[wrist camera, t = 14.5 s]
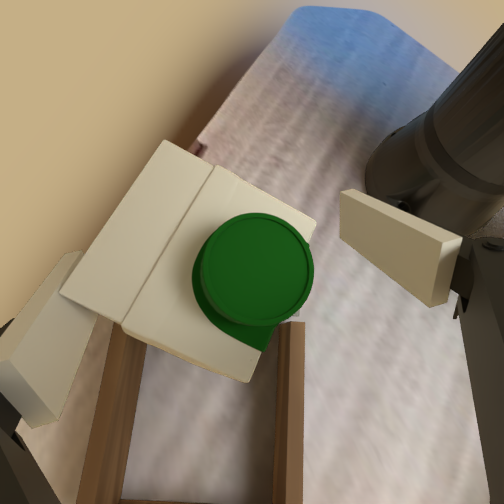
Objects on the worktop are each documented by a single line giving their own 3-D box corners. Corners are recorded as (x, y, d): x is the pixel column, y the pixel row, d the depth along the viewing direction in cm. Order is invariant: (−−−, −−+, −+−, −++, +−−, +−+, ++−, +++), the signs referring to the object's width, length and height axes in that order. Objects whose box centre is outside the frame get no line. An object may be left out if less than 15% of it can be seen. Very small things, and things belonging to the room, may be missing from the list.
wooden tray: (290, 325, 29) (305, 322, 23) (285, 524, 24) (301, 582, 18) (140, 314, 28) (117, 307, 23) (102, 516, 23) (61, 573, 18)
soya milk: (215, 351, 28) (269, 428, 9) (130, 310, 27) (-17, 295, 8) (252, 272, 30) (359, 197, 11) (176, 233, 29) (149, 79, 10)
